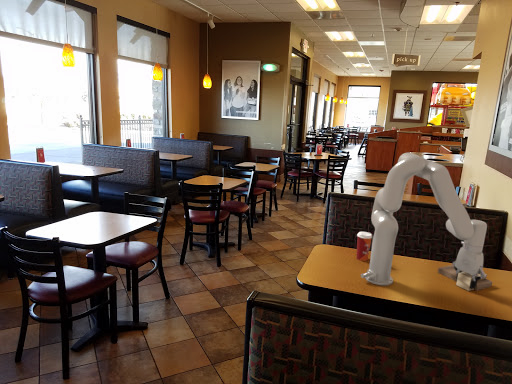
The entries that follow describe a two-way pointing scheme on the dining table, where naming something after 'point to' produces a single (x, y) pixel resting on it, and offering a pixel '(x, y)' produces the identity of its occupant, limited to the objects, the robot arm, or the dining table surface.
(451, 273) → the walnut board
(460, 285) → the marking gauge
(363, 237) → the paper cup
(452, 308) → the dining table surface
